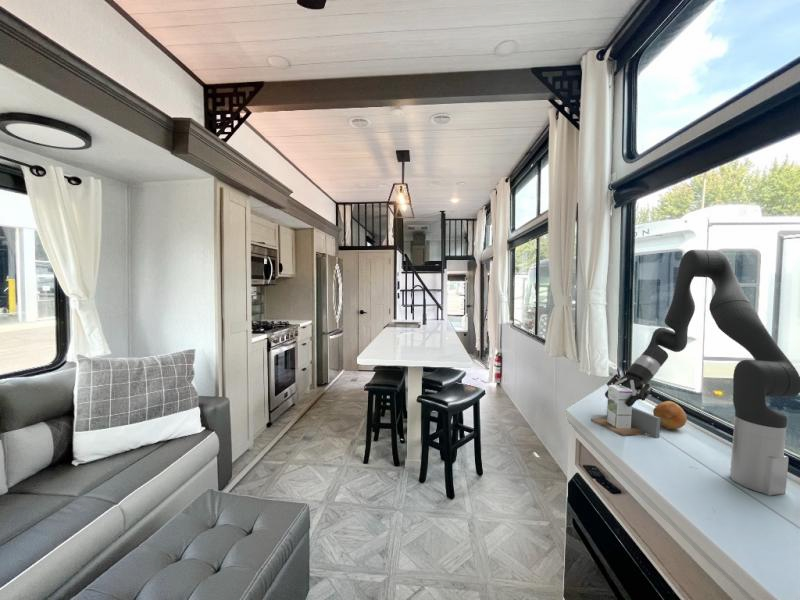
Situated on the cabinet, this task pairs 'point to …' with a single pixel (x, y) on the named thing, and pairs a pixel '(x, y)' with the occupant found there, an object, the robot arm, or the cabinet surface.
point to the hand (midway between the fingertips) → (616, 401)
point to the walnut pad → (620, 431)
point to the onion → (670, 415)
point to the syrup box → (619, 407)
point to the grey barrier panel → (645, 422)
